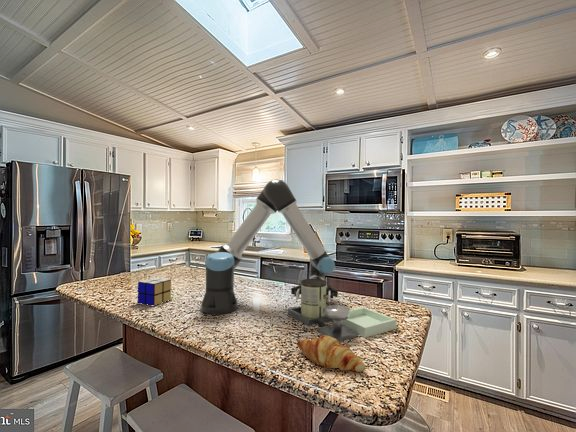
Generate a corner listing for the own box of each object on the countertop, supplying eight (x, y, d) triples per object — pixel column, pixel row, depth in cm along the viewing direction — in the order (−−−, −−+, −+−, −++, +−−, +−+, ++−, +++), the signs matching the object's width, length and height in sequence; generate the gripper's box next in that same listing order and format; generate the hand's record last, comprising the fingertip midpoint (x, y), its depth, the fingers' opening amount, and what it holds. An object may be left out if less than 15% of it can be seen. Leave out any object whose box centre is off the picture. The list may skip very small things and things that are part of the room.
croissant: (368, 382, 76) (374, 350, 79) (356, 380, 69) (363, 345, 72) (301, 356, 88) (308, 330, 91) (285, 352, 81) (293, 323, 84)
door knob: (335, 342, 92) (335, 315, 92) (308, 326, 104) (308, 303, 104) (358, 336, 97) (358, 310, 97) (329, 321, 110) (330, 299, 110)
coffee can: (301, 311, 121) (301, 278, 121) (325, 312, 120) (326, 279, 120) (299, 320, 111) (300, 283, 111) (326, 321, 110) (327, 284, 110)
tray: (364, 337, 95) (365, 327, 95) (333, 322, 109) (333, 313, 109) (396, 328, 104) (396, 319, 104) (363, 315, 117) (363, 307, 117)
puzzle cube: (137, 303, 128) (137, 281, 128) (155, 298, 137) (155, 277, 137) (153, 306, 124) (154, 283, 124) (171, 300, 134) (171, 279, 134)
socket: (308, 325, 105) (308, 320, 105) (287, 313, 118) (287, 308, 118) (339, 318, 113) (340, 313, 113) (316, 308, 126) (317, 303, 126)
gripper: (342, 294, 131) (344, 309, 110) (290, 291, 135) (282, 305, 114) (342, 277, 131) (344, 289, 110) (290, 275, 135) (282, 286, 114)
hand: (312, 297), depth 112 cm, fingers open, 12 cm apart
